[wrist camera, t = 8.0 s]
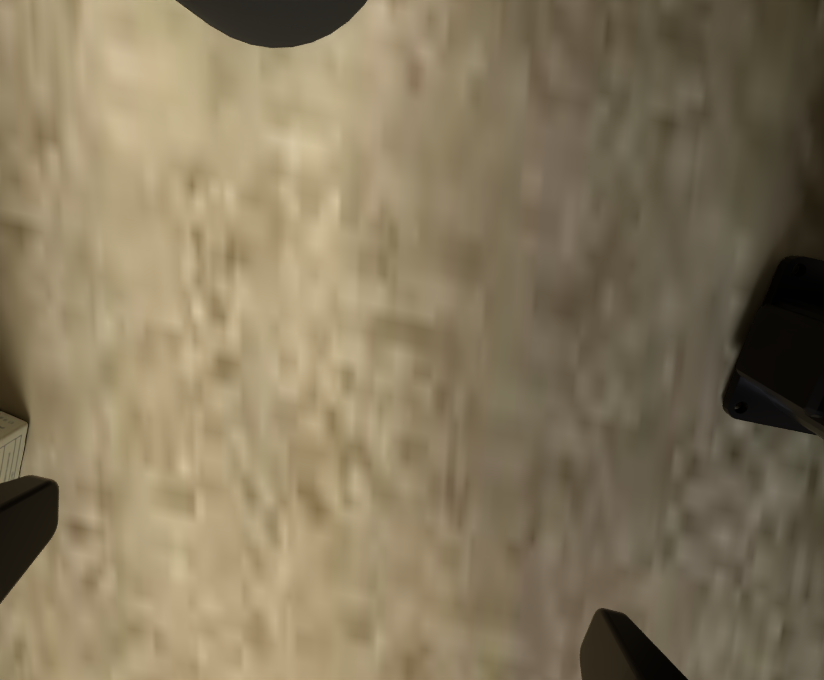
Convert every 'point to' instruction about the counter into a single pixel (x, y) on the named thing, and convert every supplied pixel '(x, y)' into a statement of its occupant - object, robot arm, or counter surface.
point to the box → (11, 446)
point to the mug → (275, 19)
